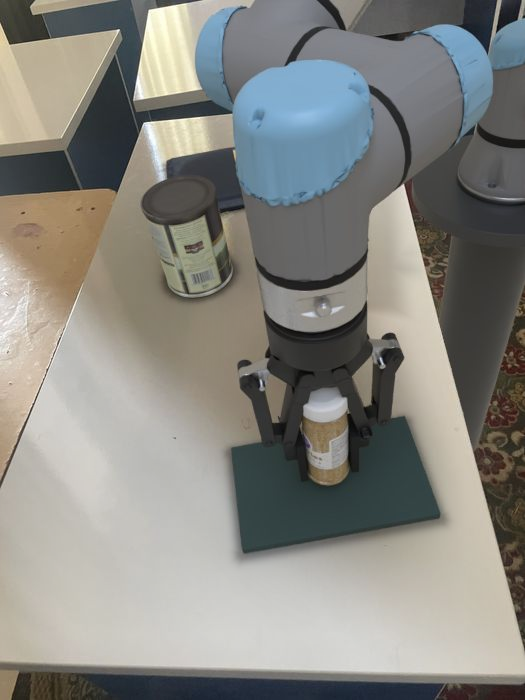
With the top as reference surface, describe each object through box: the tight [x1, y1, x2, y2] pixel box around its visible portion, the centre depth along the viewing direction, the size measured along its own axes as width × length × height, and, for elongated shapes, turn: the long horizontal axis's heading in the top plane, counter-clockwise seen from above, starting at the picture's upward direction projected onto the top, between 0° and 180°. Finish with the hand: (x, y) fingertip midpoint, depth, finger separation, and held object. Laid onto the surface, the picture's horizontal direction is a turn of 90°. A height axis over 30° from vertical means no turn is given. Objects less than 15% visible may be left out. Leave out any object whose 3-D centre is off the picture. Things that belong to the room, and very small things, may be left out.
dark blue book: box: [165, 146, 245, 213], centre depth 102 cm, size 20×2×15 cm
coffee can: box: [140, 175, 234, 299], centre depth 81 cm, size 10×10×14 cm
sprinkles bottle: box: [301, 387, 349, 485], centre depth 54 cm, size 5×5×14 cm
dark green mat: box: [230, 415, 442, 554], centre depth 61 cm, size 20×12×1 cm, turn 98°
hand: (327, 464), depth 58 cm, fingers closed on sprinkles bottle, 4 cm apart
